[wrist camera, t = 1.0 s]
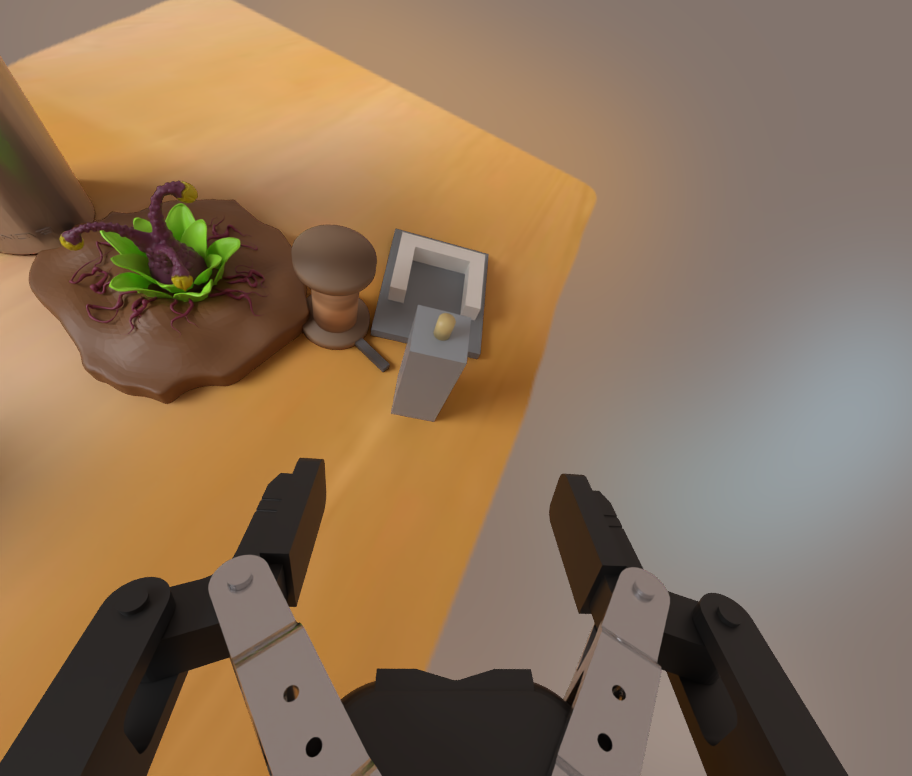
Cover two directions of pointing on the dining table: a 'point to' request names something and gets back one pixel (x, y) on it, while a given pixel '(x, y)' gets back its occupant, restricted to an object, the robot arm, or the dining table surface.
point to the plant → (173, 294)
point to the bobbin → (336, 287)
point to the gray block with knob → (431, 362)
